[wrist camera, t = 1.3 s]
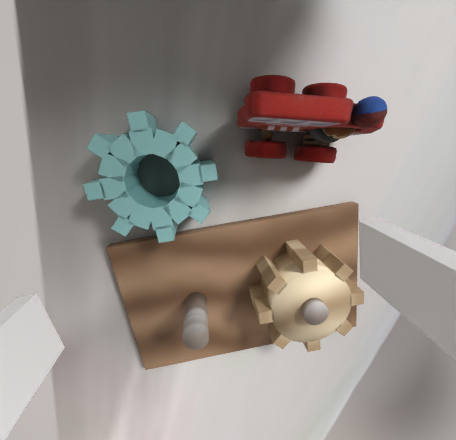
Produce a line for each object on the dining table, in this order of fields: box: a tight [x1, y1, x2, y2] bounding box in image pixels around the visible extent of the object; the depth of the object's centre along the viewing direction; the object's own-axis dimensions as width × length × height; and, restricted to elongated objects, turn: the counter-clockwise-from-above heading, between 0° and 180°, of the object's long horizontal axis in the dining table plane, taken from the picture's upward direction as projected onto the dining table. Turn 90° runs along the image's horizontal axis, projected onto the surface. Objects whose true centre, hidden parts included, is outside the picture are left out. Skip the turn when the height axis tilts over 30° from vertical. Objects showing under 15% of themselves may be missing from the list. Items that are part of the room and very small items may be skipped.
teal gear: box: [83, 111, 218, 243], centre depth 24 cm, size 11×11×5 cm
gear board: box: [107, 202, 364, 370], centre depth 28 cm, size 17×28×7 cm, turn 98°
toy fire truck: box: [237, 75, 387, 163], centre depth 21 cm, size 7×12×10 cm, turn 86°
